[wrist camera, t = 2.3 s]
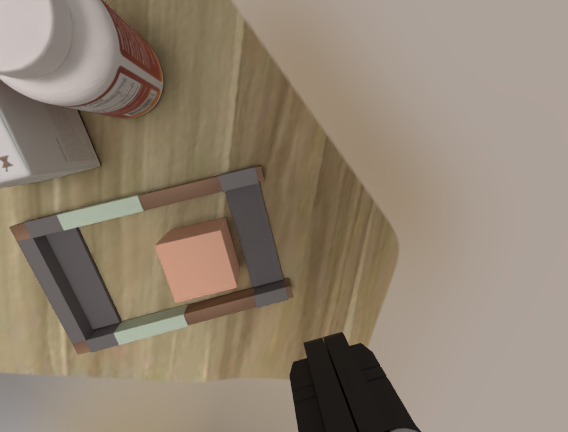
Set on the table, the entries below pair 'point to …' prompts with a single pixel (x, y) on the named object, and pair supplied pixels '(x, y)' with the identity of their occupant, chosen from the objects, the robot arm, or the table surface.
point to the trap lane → (91, 289)
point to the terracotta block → (199, 259)
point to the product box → (40, 140)
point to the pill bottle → (77, 57)
